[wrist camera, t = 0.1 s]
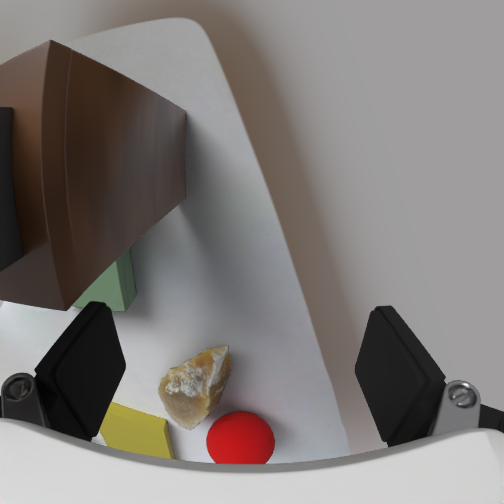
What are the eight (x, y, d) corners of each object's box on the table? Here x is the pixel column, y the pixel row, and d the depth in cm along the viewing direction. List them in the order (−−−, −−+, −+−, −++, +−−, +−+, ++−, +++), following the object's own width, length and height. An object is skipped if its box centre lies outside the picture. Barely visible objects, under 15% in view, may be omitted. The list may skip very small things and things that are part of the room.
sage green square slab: (48, 205, 24) (29, 213, 21) (125, 200, 25) (109, 208, 21) (64, 289, 28) (49, 303, 25) (136, 294, 28) (125, 311, 25)
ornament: (203, 399, 34) (195, 461, 24) (271, 396, 34) (277, 459, 24) (214, 434, 37) (210, 487, 28) (273, 431, 37) (278, 486, 28)
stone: (155, 433, 28) (197, 367, 22) (153, 392, 33) (190, 316, 28) (209, 438, 31) (267, 376, 25) (202, 399, 36) (251, 330, 31)
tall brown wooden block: (114, 118, 22) (-59, 106, 4) (186, 110, 22) (50, 38, 4) (116, 200, 25) (-40, 291, 7) (186, 198, 25) (67, 311, 7)
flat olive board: (178, 473, 43) (164, 410, 35) (177, 481, 41) (161, 421, 33) (123, 461, 43) (91, 393, 34) (121, 469, 41) (86, 403, 32)
